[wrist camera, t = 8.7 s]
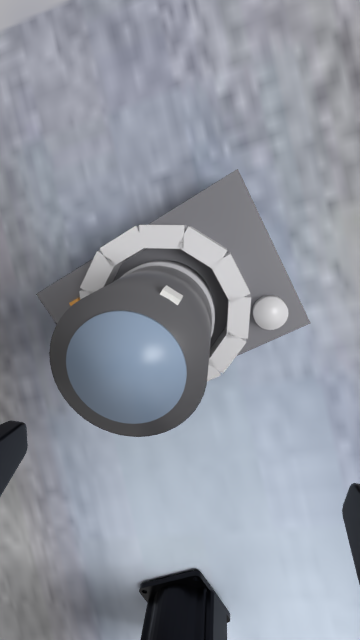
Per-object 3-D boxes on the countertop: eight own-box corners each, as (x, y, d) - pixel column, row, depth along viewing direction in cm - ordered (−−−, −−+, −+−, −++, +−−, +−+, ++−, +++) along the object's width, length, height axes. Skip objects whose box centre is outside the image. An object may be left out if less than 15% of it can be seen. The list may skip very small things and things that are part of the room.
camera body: (134, 378, 22) (108, 424, 17) (70, 279, 20) (20, 297, 15) (293, 304, 19) (318, 333, 14) (233, 179, 17) (238, 161, 12)
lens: (182, 367, 16) (156, 468, 10) (104, 320, 16) (20, 389, 9) (235, 291, 15) (248, 349, 8) (148, 237, 14) (86, 248, 8)
